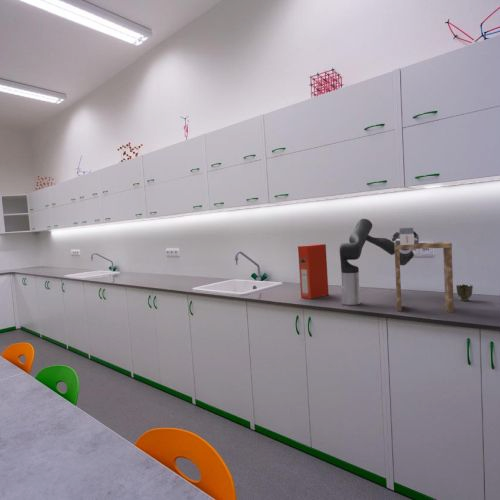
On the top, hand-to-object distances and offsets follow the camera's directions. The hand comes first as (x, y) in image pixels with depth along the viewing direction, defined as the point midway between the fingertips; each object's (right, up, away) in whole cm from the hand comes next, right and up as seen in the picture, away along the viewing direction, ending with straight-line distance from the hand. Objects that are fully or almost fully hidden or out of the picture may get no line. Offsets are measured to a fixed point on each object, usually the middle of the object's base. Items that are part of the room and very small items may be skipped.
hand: (405, 229), depth 184 cm
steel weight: (-1, -3, -4) cm, 5 cm away
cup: (+32, -37, +2) cm, 49 cm away
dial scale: (-4, -8, -9) cm, 12 cm away
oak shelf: (+4, -39, -10) cm, 41 cm away
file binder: (-40, -40, +39) cm, 68 cm away
